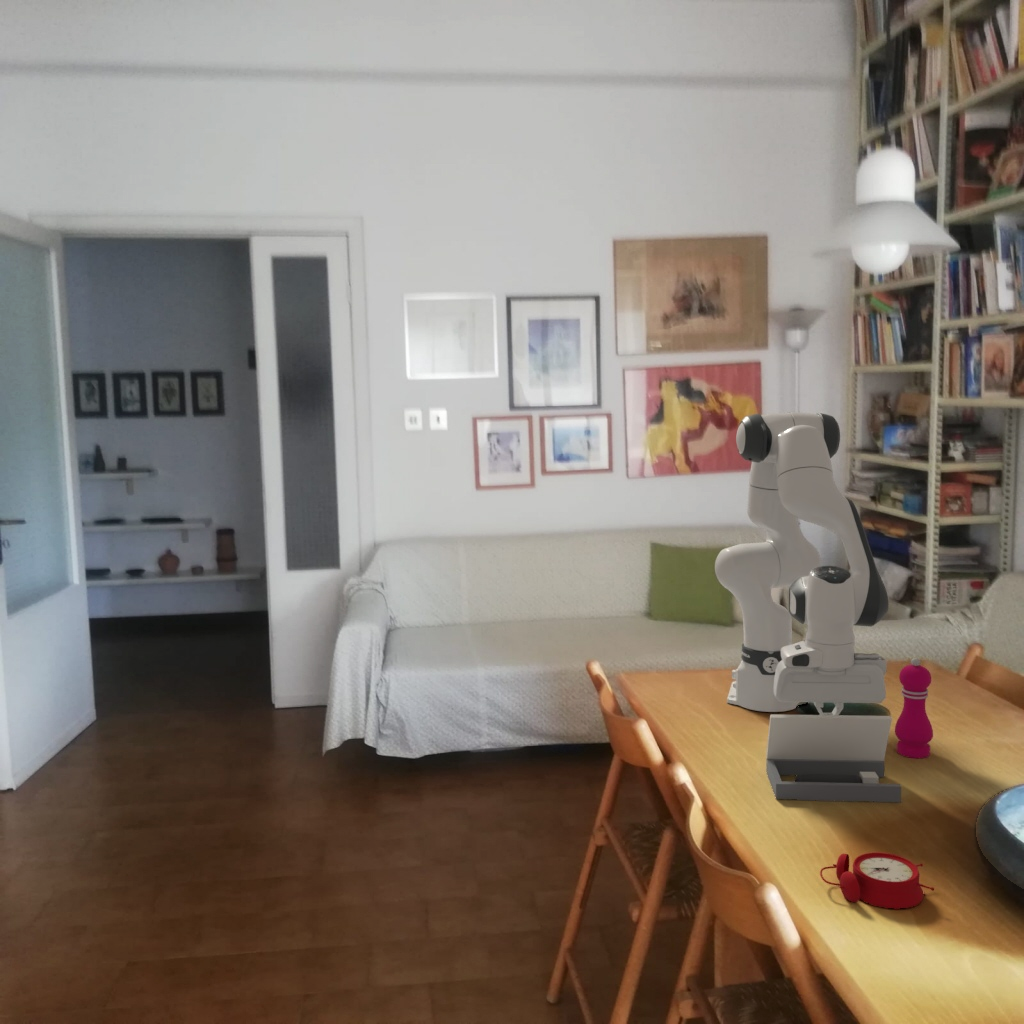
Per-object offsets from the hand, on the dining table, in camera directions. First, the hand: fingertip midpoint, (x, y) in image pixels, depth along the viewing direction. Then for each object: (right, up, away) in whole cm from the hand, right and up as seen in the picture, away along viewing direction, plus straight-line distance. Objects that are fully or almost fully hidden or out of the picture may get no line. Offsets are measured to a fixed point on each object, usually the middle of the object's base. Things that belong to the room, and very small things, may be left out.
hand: (828, 723), depth 181 cm
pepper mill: (+22, -9, +13) cm, 27 cm away
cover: (0, -3, 0) cm, 3 cm away
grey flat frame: (0, -12, -2) cm, 12 cm away
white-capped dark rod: (+1, -12, -2) cm, 12 cm away
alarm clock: (-6, -17, -39) cm, 43 cm away
